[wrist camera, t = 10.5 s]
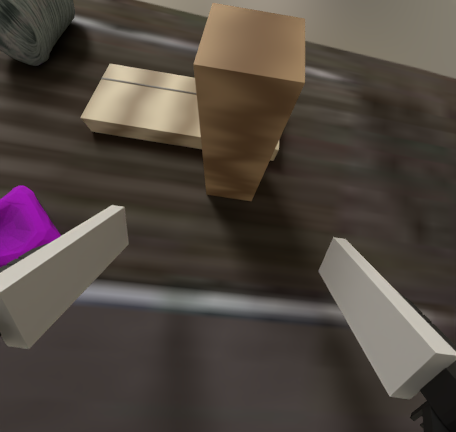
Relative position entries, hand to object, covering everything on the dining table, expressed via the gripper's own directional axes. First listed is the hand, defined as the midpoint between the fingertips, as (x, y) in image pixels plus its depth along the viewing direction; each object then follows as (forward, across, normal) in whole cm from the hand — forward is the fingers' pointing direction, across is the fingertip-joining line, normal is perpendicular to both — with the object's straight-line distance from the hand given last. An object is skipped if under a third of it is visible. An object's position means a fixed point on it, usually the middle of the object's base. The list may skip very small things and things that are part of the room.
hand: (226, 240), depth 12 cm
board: (+16, -6, +7) cm, 19 cm away
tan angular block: (+14, 0, +4) cm, 14 cm away
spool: (+24, -29, +14) cm, 40 cm away
